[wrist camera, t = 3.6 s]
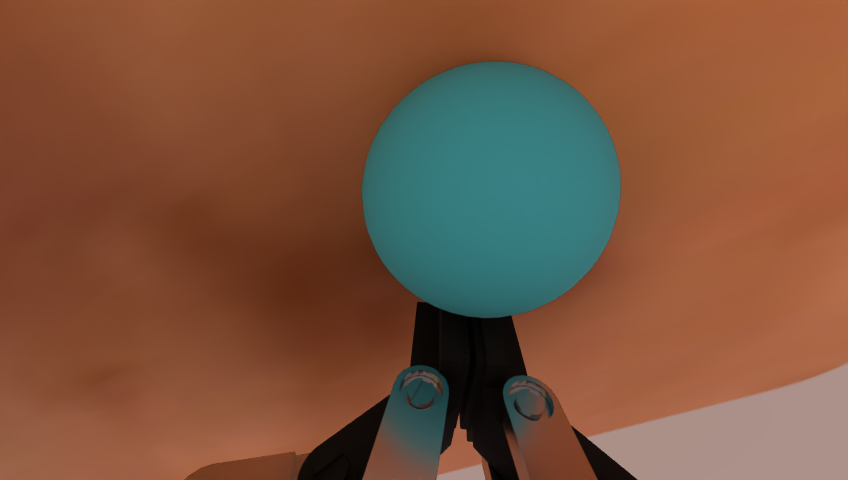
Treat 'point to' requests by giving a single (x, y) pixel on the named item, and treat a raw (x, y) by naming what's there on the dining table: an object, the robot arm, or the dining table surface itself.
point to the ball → (491, 189)
